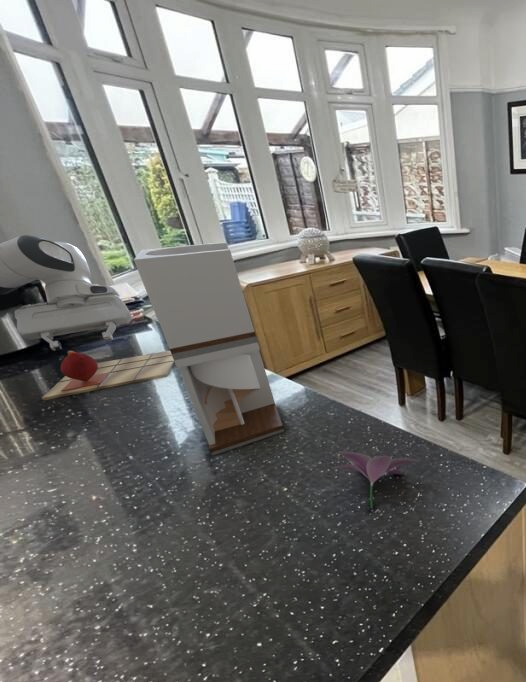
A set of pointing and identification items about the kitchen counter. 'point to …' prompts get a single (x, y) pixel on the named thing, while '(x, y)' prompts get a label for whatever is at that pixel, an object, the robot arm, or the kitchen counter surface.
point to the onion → (79, 366)
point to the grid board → (116, 374)
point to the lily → (373, 466)
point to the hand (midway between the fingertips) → (83, 344)
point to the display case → (211, 341)
